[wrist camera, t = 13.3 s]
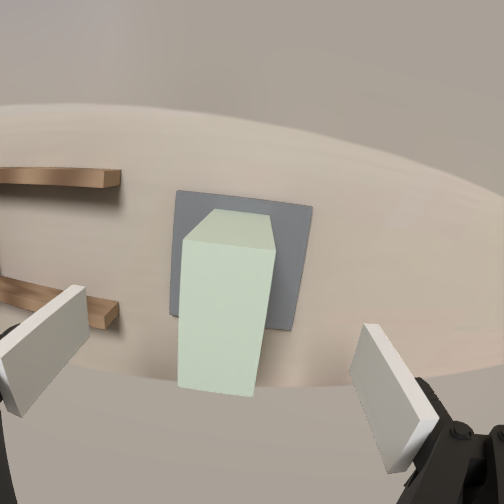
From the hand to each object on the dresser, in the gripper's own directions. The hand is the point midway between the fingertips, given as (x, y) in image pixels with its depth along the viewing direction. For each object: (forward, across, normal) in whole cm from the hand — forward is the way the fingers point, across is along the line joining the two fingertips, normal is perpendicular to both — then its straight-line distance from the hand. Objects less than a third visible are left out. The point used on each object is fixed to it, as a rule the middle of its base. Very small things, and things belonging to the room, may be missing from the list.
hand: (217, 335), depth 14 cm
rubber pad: (+11, 0, 0) cm, 11 cm away
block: (+11, 0, 0) cm, 11 cm away
